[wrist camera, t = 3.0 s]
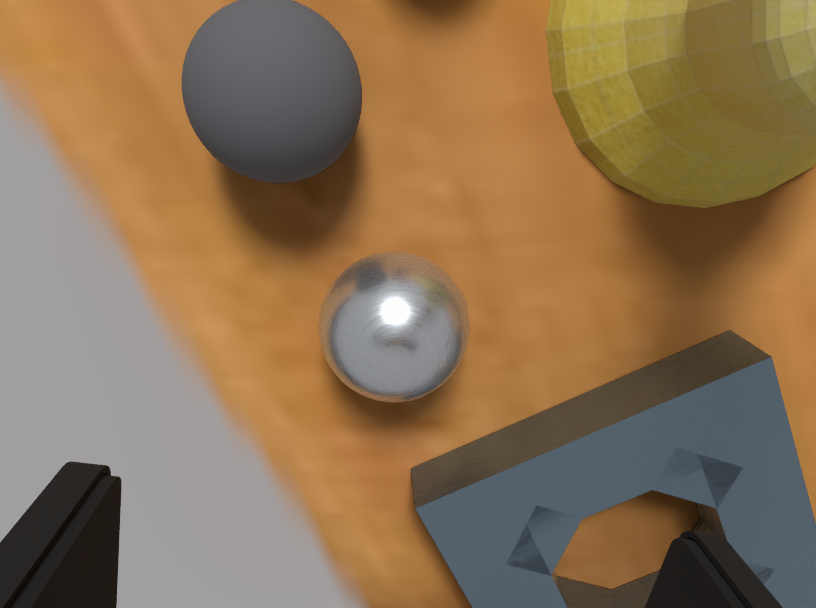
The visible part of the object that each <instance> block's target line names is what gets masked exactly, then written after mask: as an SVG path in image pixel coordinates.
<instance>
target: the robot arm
mask: <svg viewBox="0 0 816 608" xmlns="http://www.w3.org/2000/svg"><path fill="white" fill-rule="evenodd" d="M120 506H121V479H120V477H116V476H111V472H110V468H109V467H108V466H106V465H97V464H88V463H78V462H68V463H66V464H65V465H64V466H63V467H62V468H61V469H60V471H59V472H58V473H57V474H56V475H55V477H54V478H53V479H52V480H51V482H50V483H49V484H48V485H47V486H46V488H45V489H44V490H43V491H42V493H41V494H40V495H39V496H38V497H37V499H36V500H35V501H34V502H33V503H32V505H31V506H30V507H29V509H28V510H27V511H26V512H25V513H24V514H23V516H22V517H21V518H20V519H19V520H18V522H17V523H16V524H15V525H14V527H13V528H12V529H11V530H10V531H9V533H8V534H7V535H6V536H5V538H4V539H3V540H2V541H1V542H0V608H116V602H117V576H118V554H119V530H120ZM645 608H783V607H782V606H781V605H780V604H779V602H778V601H777V600H776V599H775V598H774V596H773V595H772V594H771V593H770V592H769V590H768V589H767V588H766V587H765V586H764V584H763V583H762V582H761V581H760V580H759V578H758V577H757V576H756V575H755V574H754V572H753V571H752V570H751V569H750V568H749V566H748V565H747V564H746V563H745V562H744V560H743V559H742V558H741V557H740V556H739V554H738V553H737V552H736V551H735V550H734V548H733V547H732V546H731V545H730V544H729V542H728V541H727V540H726V539H725V538H724V537H723V536H721V535H718V534H713V533H705V532H696V531H685V532H684V533H682V534H681V535H680V537H679V538H677V539H675V540H673V541H672V543H671V545H670V547H669V550H668V552H667V554H666V557H665V559H664V562H663V564H662V567H661V569H660V571H659V574H658V576H657V579H656V581H655V584H654V586H653V589H652V591H651V593H650V596H649V598H648V601H647V603H646V606H645Z"/></svg>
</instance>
